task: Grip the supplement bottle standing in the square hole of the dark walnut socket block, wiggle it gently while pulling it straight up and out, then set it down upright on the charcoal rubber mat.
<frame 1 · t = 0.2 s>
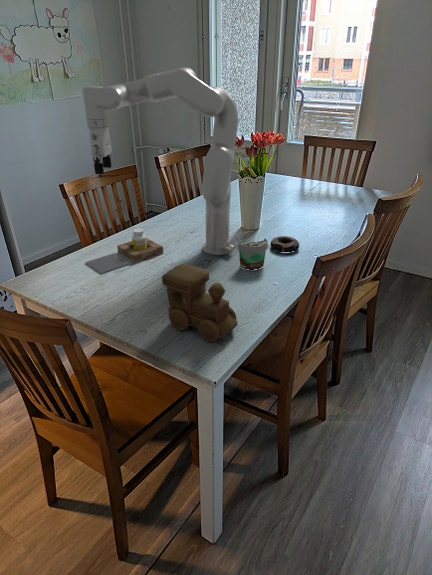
hand: (103, 170, 160), 31 cm above the table, tool pointing down, fingers open, 9 cm apart
donut: (284, 249, 171), on the table
supplement bottle: (140, 253, 167), resting in socket block
rubber mat: (107, 264, 158), on the table
food container: (255, 268, 156), on the table
wooden toy train: (201, 327, 122), on the table
socket block: (140, 252, 167), on the table
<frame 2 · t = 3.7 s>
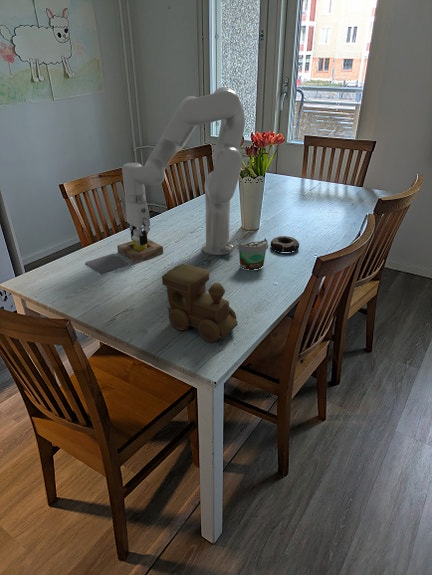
hand: (139, 241, 164), 5 cm above the table, tool pointing down, fingers closed on supplement bottle, 5 cm apart
supplement bottle: (140, 253, 167), resting in socket block, touching gripper
everything else where it was.
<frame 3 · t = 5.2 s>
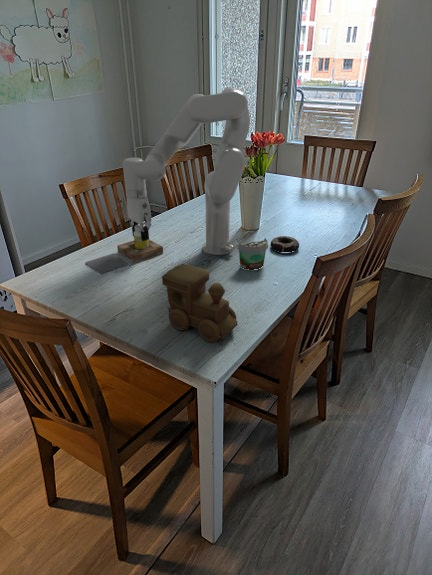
hand: (140, 237, 163), 7 cm above the table, tool pointing down, fingers closed on supplement bottle, 5 cm apart
supplement bottle: (142, 249, 166), point 2 cm above the table, touching gripper
everything else where it was.
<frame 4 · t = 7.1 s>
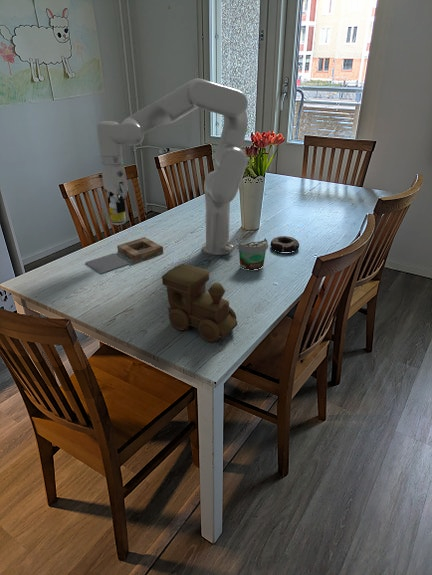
hand: (117, 209, 152), 20 cm above the table, tool pointing down, fingers closed on supplement bottle, 5 cm apart
supplement bottle: (118, 222, 155), point 15 cm above the table, touching gripper
everything else where it was.
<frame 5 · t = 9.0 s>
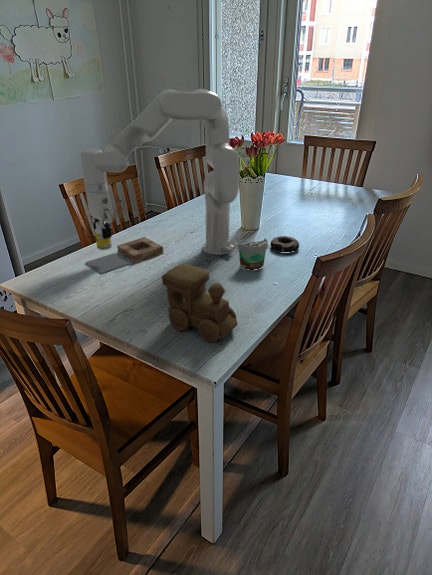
hand: (103, 235, 152), 12 cm above the table, tool pointing down, fingers closed on supplement bottle, 5 cm apart
supplement bottle: (104, 247, 155), point 7 cm above the table, touching gripper
everything else where it was.
when the fingers open (7 cm above the table, at t = 10.8 s): supplement bottle drops 1 cm, resting on rubber mat.
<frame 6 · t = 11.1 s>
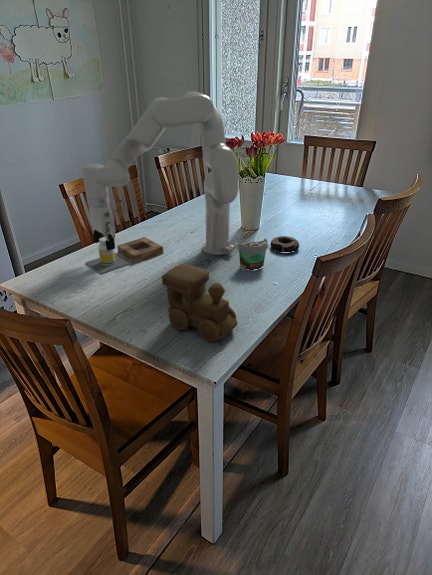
hand: (104, 245, 154), 8 cm above the table, tool pointing down, fingers open, 8 cm apart
supplement bottle: (108, 263, 158), resting on rubber mat
everything else where it was.
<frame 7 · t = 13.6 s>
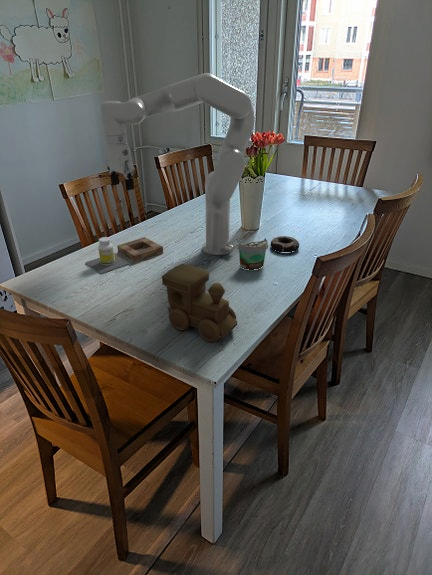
hand: (122, 187, 155), 26 cm above the table, tool pointing down, fingers open, 9 cm apart
nothing on the table moved.
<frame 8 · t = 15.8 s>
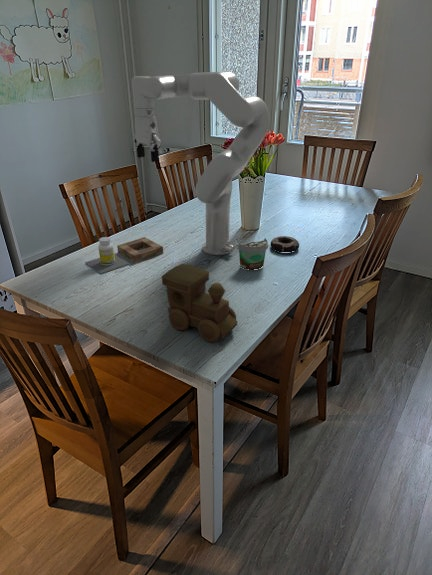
hand: (148, 159, 165), 33 cm above the table, tool pointing down, fingers open, 9 cm apart
nothing on the table moved.
at the end: supplement bottle inside the target area on the rubber mat (0.3 cm from its centre), point 0.3 cm above the rubber mat's base; supplement bottle tilted 0°; the gripper is holding nothing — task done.
